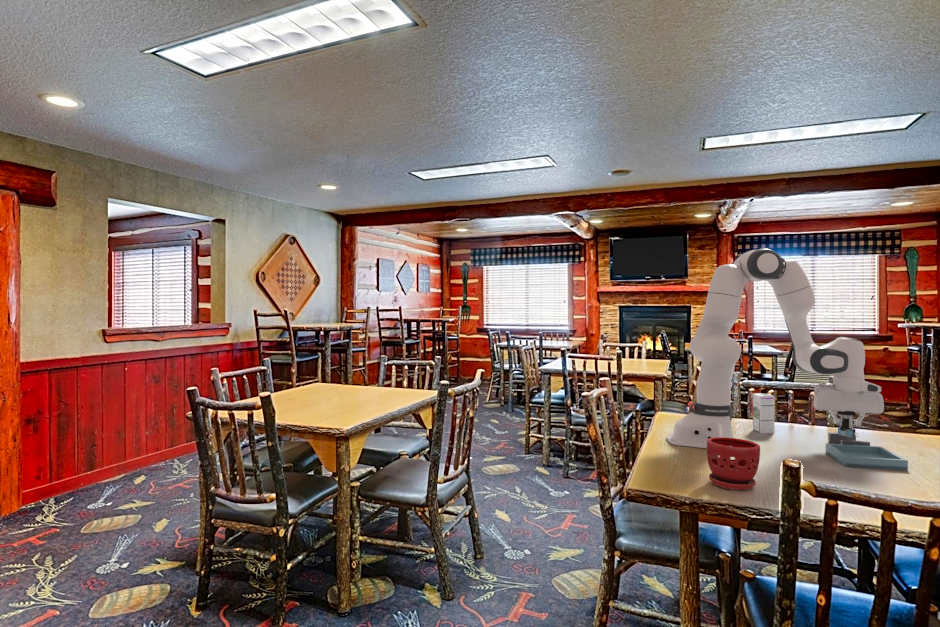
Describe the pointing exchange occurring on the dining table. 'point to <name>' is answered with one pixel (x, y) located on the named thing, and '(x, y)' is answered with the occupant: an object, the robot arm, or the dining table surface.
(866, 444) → the clip holder
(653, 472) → the dining table surface
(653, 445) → the dining table surface
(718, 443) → the plant pot
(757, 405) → the syrup box
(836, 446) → the tray
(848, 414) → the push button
